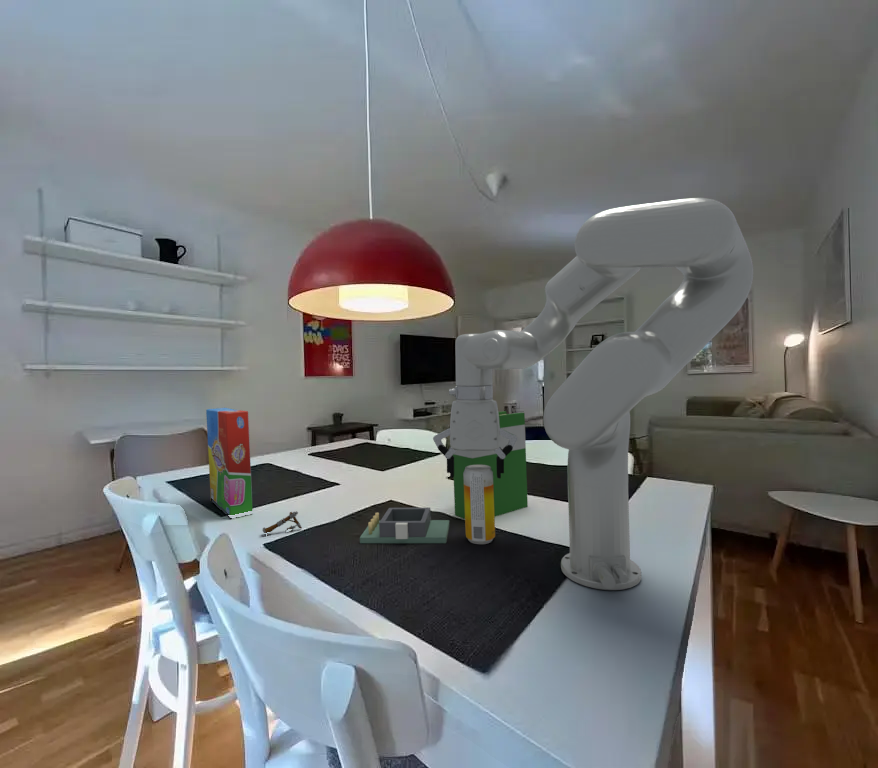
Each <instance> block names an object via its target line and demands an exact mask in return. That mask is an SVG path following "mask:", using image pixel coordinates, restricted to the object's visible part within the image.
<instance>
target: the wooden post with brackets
mask: <svg viewBox="0 0 878 768" xmlns="http://www.w3.org/2000/svg"><path fill="white" fill-rule="evenodd" d="M298 514H299V512H298V511H290V512H289V514H288V515H287V516H285V517H283V518H282V519H280V520H279V521H277V522H276V523H275V524H272V525H269V526H268V527H262V532H263V534H264V533H267V532H270V533H271V532H273V531H274V530H276V529H277V528H280V527H281V526H283V525H285V524H286V523H287V522H293V523H294V524H295V525H290V526H289V527H287V528H286V530H288V529H293V530H294V529H295V528H296V527H298V529H299V528H301V529H302V525H301V523H300V521H298V519H297V515H298ZM292 519H293V520H292Z"/></svg>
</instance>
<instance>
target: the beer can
mask: <svg viewBox="0 0 878 768" xmlns="http://www.w3.org/2000/svg"><path fill="white" fill-rule="evenodd" d="M463 477H464V504H465V519H464V522H465V523H464V525H465V526H464V527H465V537H466V539H467V540H468V541H469V542H470V543H471V544H475V545H486V544H489V543H492V542H493V540H494V538H495V537H496V523H495V522H496V521H495V519H496V517H494V489H493V472H492V470H491V467H490V466H487V465H470V466H466V467H465V470H464V473H463Z"/></svg>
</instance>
